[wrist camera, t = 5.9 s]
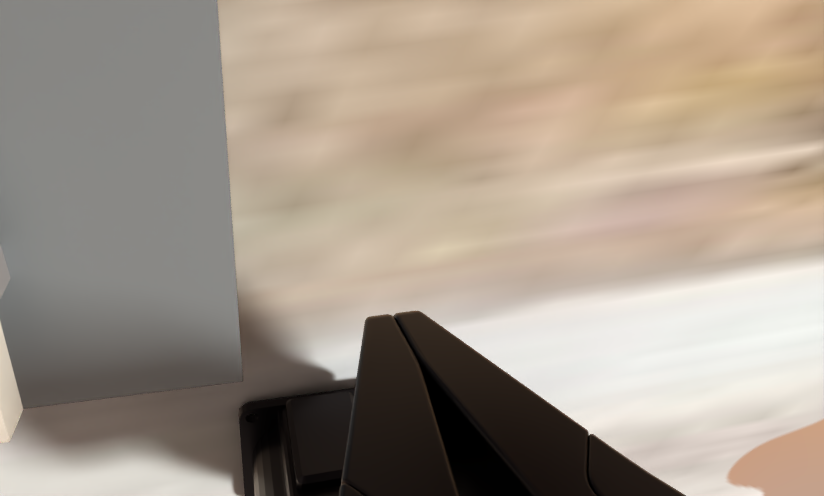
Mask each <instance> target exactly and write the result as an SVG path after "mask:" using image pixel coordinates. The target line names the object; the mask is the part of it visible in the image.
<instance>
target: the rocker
mask: <svg viewBox="0 0 824 496" xmlns="http://www.w3.org/2000/svg"><path fill="white" fill-rule="evenodd" d="M22 412H23V406H22V403H21V399H20V395H19V391H18V387H17V383H16V380H15V376H14V372H13V368H12V364H11V360H10V357H9V353H8V349H7V345H6V341H5V337H4V334H3V330H2V326H1V322H0V443H4V442H10V440H11V438H12V435H13V433H14V431H15V428H16V426H17V423H18V421H19V419H20V416H21V414H22Z"/></svg>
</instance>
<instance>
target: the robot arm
mask: <svg viewBox="0 0 824 496" xmlns="http://www.w3.org/2000/svg"><path fill="white" fill-rule="evenodd" d="M249 414H254V415H249ZM239 423H240V436H241V450H242V463H243V476H244V489H245V496H686V495H684V494H682V493H681V492H679V491H678V490H676V489H674V488H673V487H671V486H670V485H668V484H666V483H665V482H663V481H661V480H660V479H658V478H657V477H655V476H653V475H652V474H650V473H649V472H647V471H646V470H644V469H643V468H641V467H640V466H638V465H637V464H635V463H634V462H632V461H631V460H629V459H628V458H626V457H625V456H624V455H622V454H621V453H619V452H618V451H616V450H615V449H613V448H612V447H610V446H609V445H608V444H606V443H605V442H603V441H602V440H601V439H599V438H598V437H596V436H595V435H593V434H590V435H589V433H588V431H587V430H586V429H585V428H583V427H582V426H581V425H579V424H578V423H576V422H575V421H574V420H572V419H571V418H569V417H568V416H567V415H565V414H564V413H562V412H561V411H560V410H558V409H557V408H555V407H554V406H553V405H551V404H550V403H548V402H547V401H546V400H544V399H543V398H541V397H540V396H538V395H537V394H536V393H534V392H533V391H531V390H530V389H529V388H527V387H526V386H524V385H523V384H522V383H520V382H519V381H517V380H516V379H515V378H513V377H512V376H510V375H509V374H508V373H506V372H505V371H503V370H502V369H501V368H499V367H498V366H496V365H495V364H494V363H492V362H491V361H489V360H488V359H487V358H485V357H484V356H482V355H481V354H480V353H478V352H477V351H475V350H474V349H473V348H471V347H470V346H468V345H467V344H465V343H464V342H463V341H461V340H460V339H458V338H457V337H456V336H454V335H453V334H451V333H450V332H449V331H447V330H446V329H444V328H443V327H442V326H440V325H439V324H437V323H436V322H435V321H433V320H432V319H430V318H429V317H428V316H426V315H425V314H423V313H422V312H420V311H410V312H402V313H396V314H395V315H394V316H392V315H389V314H387V315H379V316H371V317H368V318H367V319H366V320H365V325H364V332H363V339H362V346H361V352H360V359H359V366H358V373H357V379H356V386H355V388H353V389H346V390H338V391H331V392H323V393H316V394H308V395H301V396H293V397H286V398H278V399H271V400H263V401H256V402H250V403H246V404H244V405H243V406H242V407H241V408H240V409H239Z"/></svg>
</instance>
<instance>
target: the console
mask: <svg viewBox="0 0 824 496" xmlns="http://www.w3.org/2000/svg"><path fill="white" fill-rule="evenodd" d="M0 322H1V326H2V330H3V334H4V337H5V341H6V345H7V349H8V353H9V357H10V360H11V364H12V368H13V372H14V376H15V380H16V383H17V387H18V391H19V395H20V399H21V403H22V406H23V409H24V408H32V407H40V406H48V405H57V404H65V403H73V402H81V401H89V400H97V399H105V398H113V397H121V396H129V395H137V394H145V393H154V392H162V391H170V390H178V389H186V388H194V387H202V386H210V385H218V384H226V383H234V382H242V381H243V373H242V358H241V344H240V329H239V314H238V300H237V285H236V270H235V256H234V241H233V226H232V212H231V197H230V182H229V168H228V153H227V138H226V124H225V109H224V94H223V80H222V65H221V50H220V35H219V21H218V6H217V0H0Z"/></svg>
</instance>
